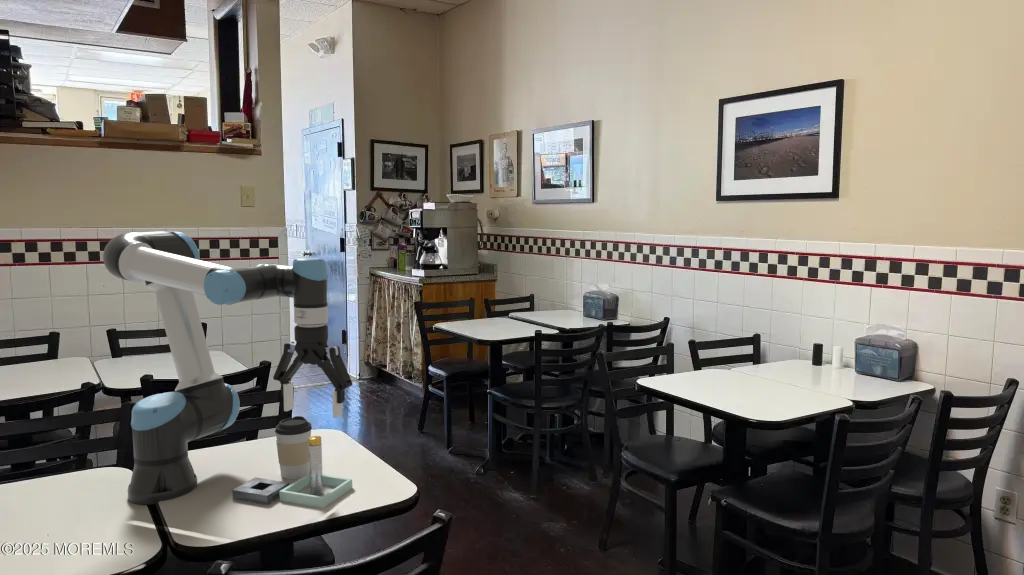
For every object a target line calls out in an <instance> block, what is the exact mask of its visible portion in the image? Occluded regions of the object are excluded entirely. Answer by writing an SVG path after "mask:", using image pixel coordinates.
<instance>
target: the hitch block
mask: <svg viewBox="0 0 1024 575" xmlns="http://www.w3.org/2000/svg"><path fill="white" fill-rule="evenodd" d="M289 485H291V483H290V482H285V481H281V480H275V479H268V478H261V477H256V476H255V477H254V478H251V479H250V480H248V481H246V482H244V483H242V484H240V485H238V486H237V487H235V488H233V489H232V490H231V493H232V500H236V501H243V502H247V503H254V504H260V505H264V506H268V505H270V504H272V503H273V502H275V501H277V500H278V499H279V500H280V495H279V491H281V490H282V489H284V488H286V487H287V486H289Z"/></svg>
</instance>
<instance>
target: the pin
mask: <svg viewBox="0 0 1024 575" xmlns="http://www.w3.org/2000/svg"><path fill="white" fill-rule="evenodd" d="M322 447H323V446H322V436H320V435H313V436H312V435H311V437H309V438H308V449H309V478H310V484H309V495H315V496H321V497H322V496H324V485H323V475H324V474H323V449H322Z"/></svg>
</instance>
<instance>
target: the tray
mask: <svg viewBox="0 0 1024 575" xmlns="http://www.w3.org/2000/svg"><path fill="white" fill-rule="evenodd" d="M322 475H323V486H327V487H335V488H333V489H331V490H330V491H329V492H327V493H325V494H323V495H321V496H315V495H310V493H309V494H307V493H302V492H300V491H301V490H303V489H305V488H306V487H308V486H310V478H309V474H308V475H306V476H304V477H301V478H298V480H296V481H294V482H293V483H290V485H289V486H287V487H286V488H284V489H282V490H281V491H279V495H280V498H279V501H280V502H285V503H292V504H298V505H303V506H311V507H315V508H320V509H321V508H322V509H325V507H327V506H329V505H330V504H331V503H332V502H335V501H336V500H337V499H338V498H340V497H342V496H343V495H344V494H346V493H347V492H349V491H351V489H353V479H352V478H347V477H341V476H334V475H327V474H322Z"/></svg>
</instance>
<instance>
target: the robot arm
mask: <svg viewBox="0 0 1024 575" xmlns="http://www.w3.org/2000/svg"><path fill="white" fill-rule="evenodd" d="M102 260H103V264H104V266H105V268H106V270H107V271H108V272H109V273H110V274H111V275H113V276H115V277H116V278H118V279H122V280H124V281H128V282H133V283H139V282H143V281H144V282H145V286H146V288H147V289H149V290H151V291H152V292H154V293H155V294H154V295H155V298H156V302H157V305H158V308H159V311H160V312H159V313H160V316H161V319H162V322H163V327H164V331H165V334H166V338H167V341H168V346H169V348H170V353H171V356H172V360H173V363H174V367H175V369H176V370H175V371H176V374H177V378H178V384H177V385H176V387H175V389H174V391H168V392H167V391H166V392H163V393H156V394H152V395H149V396H146V397H144V398H142V399H140V400H139V401H137V402H136V403H135V404H134V405H133V407H132V410H131V421H130V426H131V431H132V446H133V448H132V449H133V460H134V462H133V463H134V465H133V466H134V467H133V469H132V474H131V479H130V482H129V484H128V486H127V497H128V498H127V499H128V501H130V503H133V504H137V505H155V504H158V503H159V502H165V501H169V500H173V499H177V498H180V497H182V496H185V495H187V494H189V493H190V492H191V493H192V492H193V491H194V490H196V488H197V487H198V477H197V474H196V473H195V470H194V468H193V465H192V463H191V461H190V458H189V448H188V443H189V442H192V441H194V440H198V439H201V438H203V437H207V436H209V435H212V434H216V433H219V432H222V430H224V429H227V428H229V427H230V426H232V425H233V424H234V423H235V422H236V420H237V417H238V416H239V413H240V408H241V406H240V404H241V403H240V397H239V395H238V394H239V393H238V391H237V390H236V389H235V388H234V387H233V386H232V385H231V384H228V383H225V382H224V377H223V376H222V375H221V374H218V373H217V372H216V371H215V369H214V364H213V360H212V358H211V354H210V353H211V352H210V350H209V345H208V343H207V340H206V336H205V332H204V328H203V326H202V325H203V324H202V322H201V318H200V313H199V310H198V306H197V304H196V303H197V302H196V300H195V296H194V294H198V295H200V296H201V295H202V296H205V297H206V299H208V300H209V301H210V302H211V303H212V304H215V305H217V306H218V305H219V306H223V305H227V306H228V305H233V304H239V303H243V302H251V301H256V300H264V299H268V298H270V299H271V298H276V297H277V298H278V297H282V298H292V299H293V314H294V315H293V318H294V320H293V322H294V324H296V325H295V326H294V327H293V328H294V341H295V342H294V341H290V342H287V343H285V342H284V344H283V352H282V355H281V356H280V357H281V358H280V360H279V362H278V364H277V367H276V370H275V372H274V374H273V376H272V378H273V380H274V381H278V382H279V384H280V391H281V392H280V394H281V397H283V411H284V412H289V411H291V410H293V409H295V406H294V405H295V404H294V402H295V401H294V381H292V378H293V377H294V376H295V375H296V373H297V372H298V370H299V369H300V368H301V367H302V365H303V364H304V365H309V364H310V365H314V366H316V365H317V367H318V368H320V369H321V370H322V372H323V373H324V374H325V375H326V377H327V378H328V380H329V381H330V383H331V384H332V386H333V387H334V389H332V390H331V391H332V418H333V419H337V418H339V417H341V416H342V415H343V403H345V400H346V398H345V397H346V392H345V391H346V390H345V389H347V388H349V387H352V386H353V381H352V378H351V376H350V375H349V372H348V370H347V367H346V365H345V362H344V361H343V358H342V356H341V349H340V348H341V347H340V346H339V345H336V346H332V347H331V346H328V340H329V326H328V325H327V323H328V322H329V313H328V312H329V311H328V310H329V309H328V308H329V307H328V278H329V277H328V276H329V275H328V269H327V261H326V260H325V259H324V258H321V257H296V258H294V259H293V260H292V265H287V264H276V263H260V264H257V265H256V266H248V267H232V266H226V265H222V264H218V263H214V262H209V261H205V260H200V252H199V249H198V246H197V245H196V243H195V241H194V240H193V238H191V237H190V236H189V235H187V234H186V233H184V232H181V231H173V230H162V231H142V232H141V231H139V232H138V231H137V232H136V231H133V232H130V231H128V232H124V233H120V234H118V235H116V236H114V237H113V238H111V239H110V240H109V241H108V243H107V244H106V245H105V247H104V250H103V252H102ZM295 352H296V357H295V358H294V359H293V362H292V363H291V360H292V358H293V356H294V354H295ZM290 363H291V364H290ZM289 365H290V366H289Z"/></svg>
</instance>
